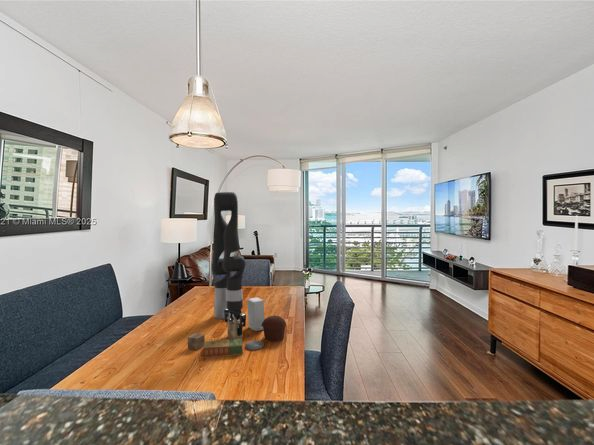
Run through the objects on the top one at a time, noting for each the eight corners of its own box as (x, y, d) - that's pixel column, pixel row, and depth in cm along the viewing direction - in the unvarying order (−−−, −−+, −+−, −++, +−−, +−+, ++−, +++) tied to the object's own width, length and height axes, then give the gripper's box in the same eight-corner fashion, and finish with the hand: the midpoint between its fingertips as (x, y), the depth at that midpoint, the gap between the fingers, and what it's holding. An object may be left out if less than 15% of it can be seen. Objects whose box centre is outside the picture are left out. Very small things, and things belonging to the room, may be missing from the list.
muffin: (284, 332, 152) (284, 312, 152) (288, 341, 142) (288, 319, 141) (260, 334, 150) (259, 314, 150) (262, 344, 139) (262, 321, 139)
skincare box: (265, 329, 157) (264, 300, 156) (254, 332, 153) (253, 302, 153) (257, 324, 164) (257, 296, 163) (247, 327, 160) (246, 298, 160)
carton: (204, 350, 134) (204, 340, 134) (242, 347, 137) (242, 337, 137) (202, 358, 126) (202, 348, 126) (242, 355, 129) (242, 344, 129)
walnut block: (187, 348, 135) (187, 337, 135) (195, 344, 140) (195, 333, 140) (197, 350, 133) (196, 338, 133) (204, 345, 138) (204, 334, 138)
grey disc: (241, 346, 136) (241, 344, 136) (255, 341, 142) (255, 339, 142) (253, 351, 131) (253, 350, 131) (267, 345, 137) (267, 344, 137)
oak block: (227, 337, 147) (227, 322, 147) (236, 334, 151) (235, 319, 151) (234, 340, 144) (233, 325, 144) (242, 336, 148) (242, 322, 148)
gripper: (218, 297, 149) (219, 332, 149) (237, 303, 139) (238, 339, 140) (231, 294, 155) (232, 327, 155) (250, 299, 145) (251, 335, 146)
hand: (235, 333), depth 147 cm, fingers open, 6 cm apart
